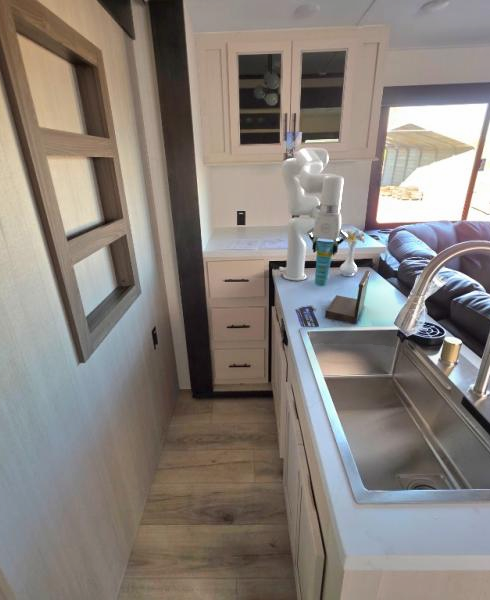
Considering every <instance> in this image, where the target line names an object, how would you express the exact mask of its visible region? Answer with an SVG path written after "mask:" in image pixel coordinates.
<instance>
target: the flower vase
mask: <svg viewBox="0 0 490 600" xmlns="http://www.w3.org/2000/svg"><path fill="white" fill-rule="evenodd" d="M343 232H344V233H345V234H346V235H347V236H348V237H347V238H346V239H345V240H344V241H343V242H345V243H347V244H348V250H347V255H346V256H347V257H346V259H345V260H344V262H343V263H342V264H341V265H340V266H339V271H340V272H341V275H342V276H344V277H354V275H355V274H356V273H357V272H358V269H359V268H358V267H357V265H356V263H355V260H354V255H355V248H356V245H357V243H358V241H360V242H362V243H363V244H364V245H366V241H365V239H366V237H365V233H363V231H360V233H359V230H358V229H355V230H353V228H349V229H347V228H345V229H344V231H343ZM339 238H340V239H342V235H341V234H340V236H339ZM341 244H342V243H340V244H339V245H341Z"/></svg>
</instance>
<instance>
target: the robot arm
mask: <svg viewBox="0 0 490 600" xmlns="http://www.w3.org/2000/svg"><path fill="white" fill-rule="evenodd" d="M329 156H330V155H329V152H328V150H327V149H326V148H324V147H303V148H300V149H299V150H298V152H296V155H295V157H290V158H287V159H285V160H284V161H283V164H282V167H281V168H282V169H281V171H282V172H281V173H282V180H283V182H284V185H285V188H286V197H287V207H288V212H289V215H291V216H296V217H292V218H290V219H288V221H287V223H286V232H287V251H286V252H287V253H286V266H285V267H283V266H279V268H278V271H279V272H281V273H282V277H283V279H285V280H289V281H294V282H298V281H303V280H305V279H307V274H306V273H305V266H306V265H305V264H306V263H305V262H306V253H307V244H306V242H305V240H304V239H303V237H308V238H309V239H310V240H311V242H312V246H311V247H312V250H313V252H312V253H317V241H318V240H319V239H323V240H330V241H331V240H332V242H334V243H335V245H334V246H333V253H332V256H336V254H337V253H338V250H339V245H341V244H342V243H343V242H345V241H344V240H345V239H346V238H347V237H348V236H347V235H346V234H345V233H344V231H343V230H342V213H341V212H340V210H341V203H342V195H343V188H344V177H343V176H342V175H337V174H335V173H322V172H323V170H324V169H325V167H327V165H328V164H329V158H330V157H329ZM305 193H306V194H309V195H306V194H305ZM316 194H317V195H319V194H321V195H320V198H318V197H317V196H315V195H316ZM340 235H342V237H341V238H342V239H341V238H340ZM339 238H340V239H339ZM340 243H341V244H340Z"/></svg>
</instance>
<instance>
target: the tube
mask: <svg viewBox="0 0 490 600" xmlns="http://www.w3.org/2000/svg"><path fill="white" fill-rule="evenodd" d="M334 245H335V243H334V241H324V240H317V251H316V260H315V261H316V262H315V277H314V285H315V286H318V287H326V286H327V283H328V278H329V273H330V267H331V262H332V257H333V255H332V254H333V246H334Z"/></svg>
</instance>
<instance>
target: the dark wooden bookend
mask: <svg viewBox="0 0 490 600" xmlns="http://www.w3.org/2000/svg"><path fill="white" fill-rule="evenodd" d="M370 275H371V270H365V272H364V274H363V276H362V278H361V280H360V282H359V284H358V291H357V295H356V296H357V298H354V297H350V296H349V297H348V296H344V295H343V296H342V295H338V294H336V295H335V296H334V298H333V299H332V301H331V303H329V306H328V307H327V309H326V310H325V314H324V317H325V318H327V319H331V320H336V321H339V322H340V321H341V322H345V323H348V324H349V323H350V324H355V325H356V324H357V323H358V321H359V319H360V317H361V314H362V311H363V309H364V305H365V301H366V295H367V289H368V283H369V278H370Z"/></svg>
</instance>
